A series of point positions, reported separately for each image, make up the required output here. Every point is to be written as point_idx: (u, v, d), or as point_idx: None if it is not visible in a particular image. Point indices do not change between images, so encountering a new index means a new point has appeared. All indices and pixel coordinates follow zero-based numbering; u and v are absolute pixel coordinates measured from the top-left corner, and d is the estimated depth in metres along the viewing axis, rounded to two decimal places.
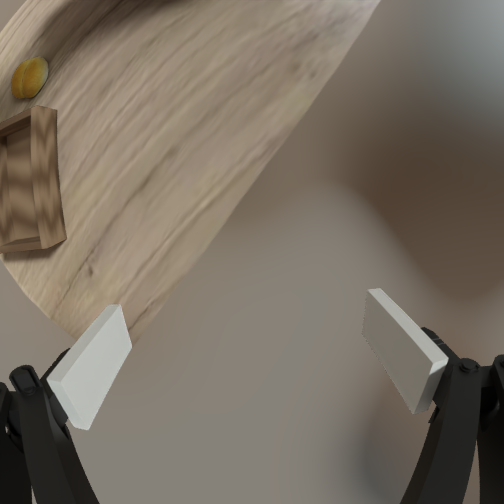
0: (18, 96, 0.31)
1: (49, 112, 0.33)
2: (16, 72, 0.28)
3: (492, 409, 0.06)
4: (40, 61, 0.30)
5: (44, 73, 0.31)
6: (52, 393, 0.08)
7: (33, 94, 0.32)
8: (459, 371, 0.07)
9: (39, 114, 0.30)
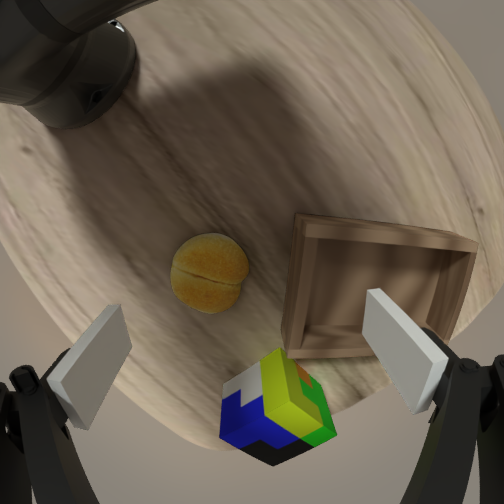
0: (237, 295, 0.31)
1: (306, 217, 0.28)
2: (193, 296, 0.29)
3: (492, 409, 0.06)
4: (191, 244, 0.29)
5: (219, 236, 0.30)
6: (52, 393, 0.08)
7: (247, 261, 0.31)
8: (459, 371, 0.07)
9: (319, 223, 0.26)
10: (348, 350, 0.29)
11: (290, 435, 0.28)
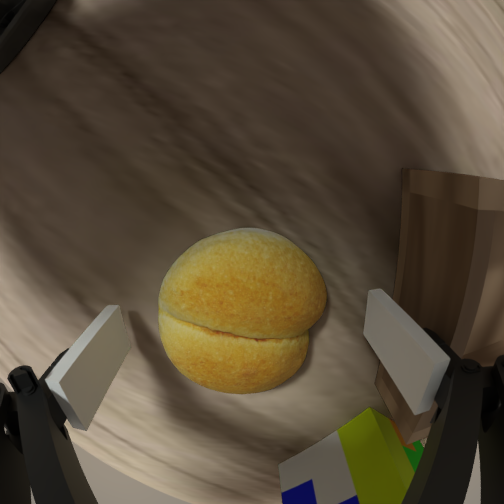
0: (305, 353, 0.14)
1: (438, 171, 0.11)
2: (214, 376, 0.12)
3: (493, 409, 0.06)
4: (193, 261, 0.12)
5: (257, 232, 0.13)
6: (51, 393, 0.08)
7: (323, 282, 0.14)
8: (461, 371, 0.07)
9: None
10: None
11: None
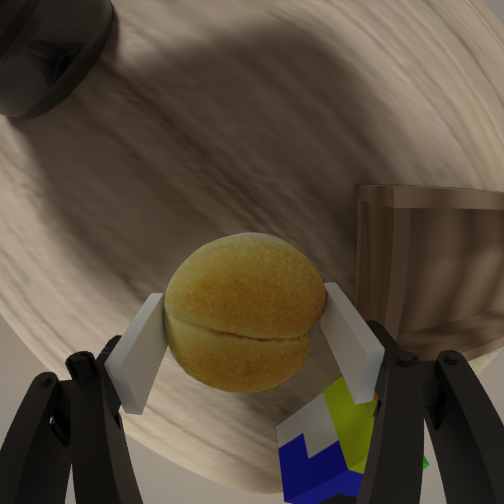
0: (306, 353, 0.15)
1: None
2: (219, 375, 0.13)
3: (442, 404, 0.08)
4: (198, 264, 0.13)
5: (259, 237, 0.13)
6: (108, 378, 0.09)
7: (323, 284, 0.14)
8: (396, 364, 0.08)
9: None
10: None
11: None
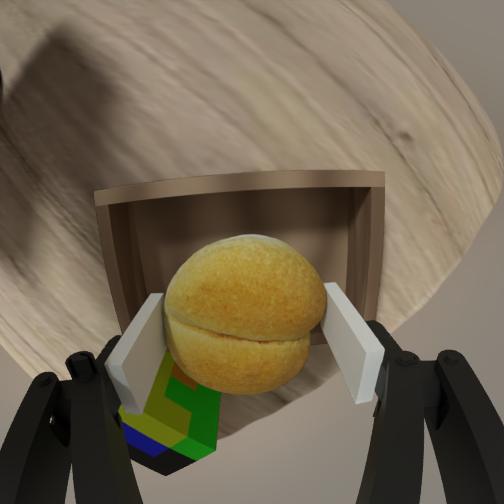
0: (307, 355, 0.15)
1: (120, 186, 0.23)
2: (219, 378, 0.13)
3: (443, 404, 0.08)
4: (198, 267, 0.13)
5: (259, 239, 0.13)
6: (108, 378, 0.09)
7: None
8: (396, 364, 0.08)
9: None
10: None
11: (155, 442, 0.22)
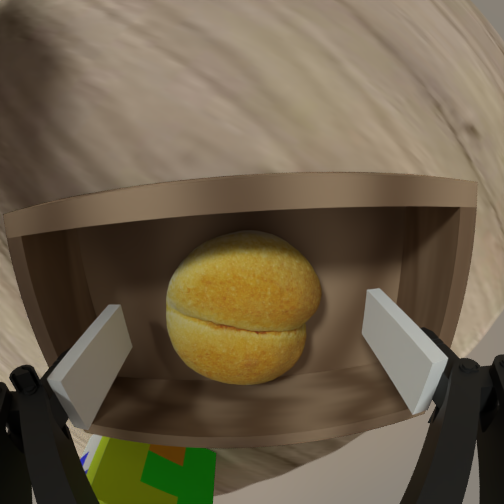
0: (303, 346, 0.15)
1: (52, 201, 0.13)
2: (219, 367, 0.14)
3: (492, 408, 0.06)
4: (199, 261, 0.13)
5: (256, 234, 0.14)
6: (52, 393, 0.08)
7: (318, 279, 0.15)
8: (459, 371, 0.07)
9: None
10: (175, 437, 0.13)
11: None
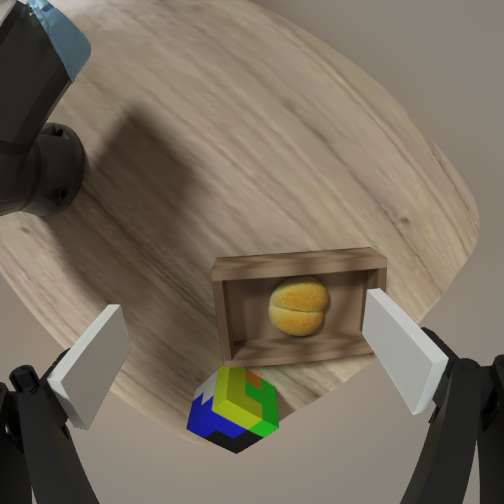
0: None
1: (220, 262, 0.38)
2: (292, 326, 0.38)
3: (492, 409, 0.06)
4: (286, 287, 0.38)
5: (306, 277, 0.38)
6: (52, 393, 0.08)
7: (327, 292, 0.39)
8: (459, 371, 0.07)
9: (223, 268, 0.35)
10: (272, 359, 0.38)
11: (238, 426, 0.37)
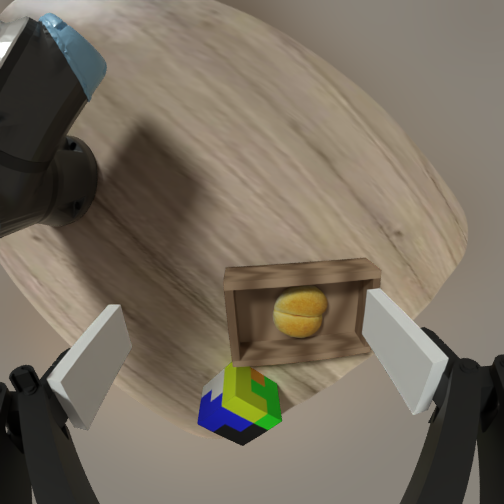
0: (321, 322, 0.44)
1: (230, 272, 0.41)
2: (295, 329, 0.42)
3: (492, 409, 0.06)
4: (290, 295, 0.42)
5: (307, 286, 0.42)
6: (52, 393, 0.08)
7: (326, 299, 0.43)
8: (459, 371, 0.07)
9: (234, 279, 0.39)
10: (276, 359, 0.42)
11: (245, 420, 0.41)
